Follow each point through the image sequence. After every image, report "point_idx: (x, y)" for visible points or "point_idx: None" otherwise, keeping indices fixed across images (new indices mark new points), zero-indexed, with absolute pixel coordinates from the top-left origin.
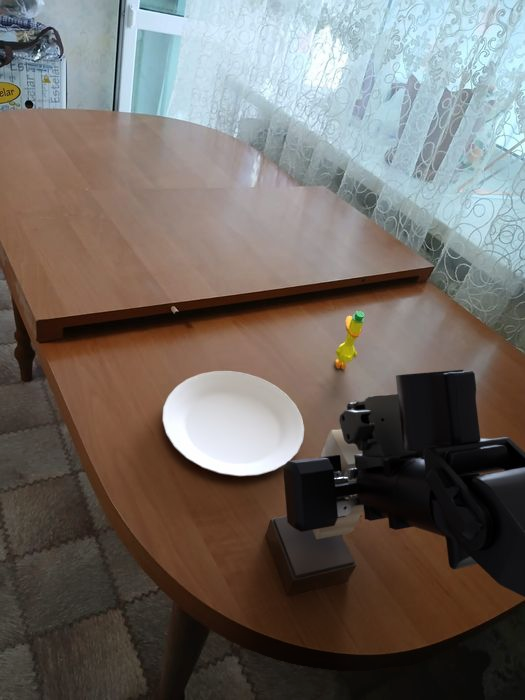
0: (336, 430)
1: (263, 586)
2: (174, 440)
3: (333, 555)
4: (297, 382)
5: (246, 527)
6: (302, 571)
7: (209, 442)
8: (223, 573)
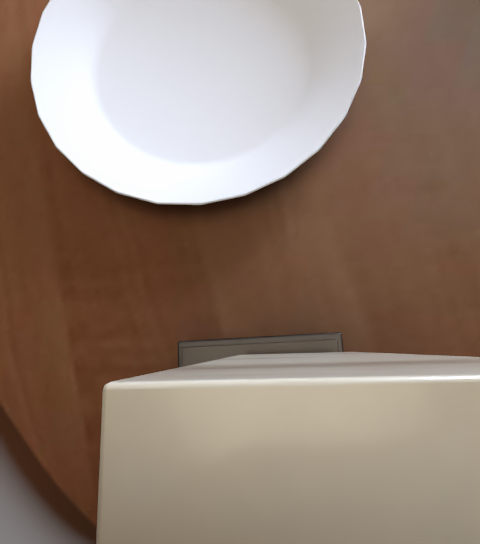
0: (183, 402)
1: None
2: (44, 99)
3: None
4: None
5: (159, 316)
6: None
7: (136, 104)
8: (84, 411)
